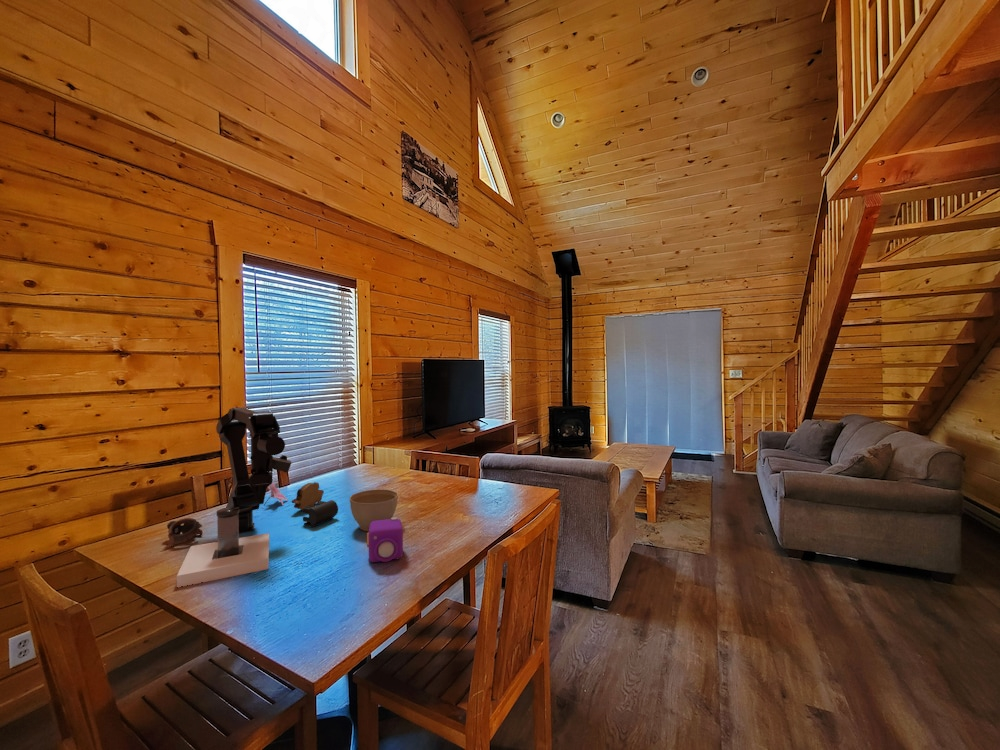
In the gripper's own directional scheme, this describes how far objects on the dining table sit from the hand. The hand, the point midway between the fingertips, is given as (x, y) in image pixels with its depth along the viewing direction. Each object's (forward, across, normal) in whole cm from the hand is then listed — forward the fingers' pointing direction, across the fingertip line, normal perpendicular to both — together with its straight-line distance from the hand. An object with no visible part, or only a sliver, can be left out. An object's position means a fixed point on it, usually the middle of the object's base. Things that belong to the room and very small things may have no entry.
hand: (261, 499), depth 132 cm
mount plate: (+13, -13, +8) cm, 20 cm away
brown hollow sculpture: (+13, +12, +22) cm, 29 cm away
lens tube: (+13, -13, +8) cm, 20 cm away
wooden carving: (+13, +27, -15) cm, 34 cm away
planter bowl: (+13, -6, -34) cm, 37 cm away
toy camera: (+13, -32, -32) cm, 47 cm away
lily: (+13, +39, -4) cm, 41 cm away
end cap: (+13, +8, -18) cm, 24 cm away
